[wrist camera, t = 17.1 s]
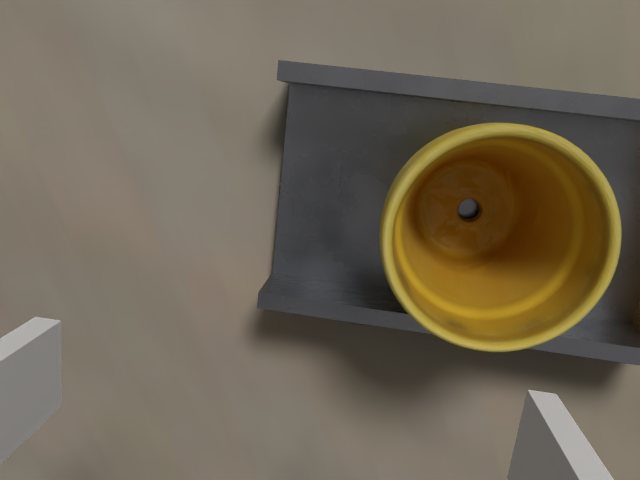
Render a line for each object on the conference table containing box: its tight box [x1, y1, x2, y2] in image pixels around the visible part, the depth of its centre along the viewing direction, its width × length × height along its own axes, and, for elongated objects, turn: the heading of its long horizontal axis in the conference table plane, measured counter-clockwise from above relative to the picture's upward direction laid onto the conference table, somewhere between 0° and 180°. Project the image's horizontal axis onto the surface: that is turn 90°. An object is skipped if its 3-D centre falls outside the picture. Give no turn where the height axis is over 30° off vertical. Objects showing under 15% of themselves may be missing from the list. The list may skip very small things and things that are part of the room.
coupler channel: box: [257, 60, 640, 365], centre depth 31 cm, size 14×24×6 cm, turn 84°
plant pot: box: [379, 123, 622, 352], centre depth 28 cm, size 10×10×10 cm
